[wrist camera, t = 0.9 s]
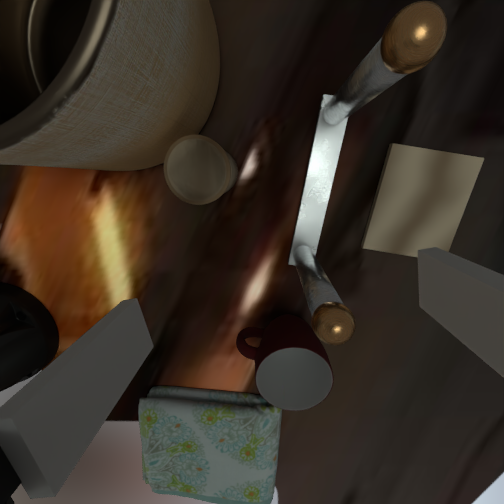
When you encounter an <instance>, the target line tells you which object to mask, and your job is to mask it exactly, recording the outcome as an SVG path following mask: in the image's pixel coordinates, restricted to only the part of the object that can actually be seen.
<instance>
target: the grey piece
mask: <svg viewBox="0 0 504 504" xmlns="http://www.w3.org/2000/svg"><path fill="white" fill-rule="evenodd" d="M446 32H447V20H446V16H445V13H444V11H443V10H442V8H441V7H440V6H439V5H437V4H435V3H433V2H430V1H419V2H415V3H412V4H410V5H408V6H406V7H405V8H403V9H402V10H400V11H399V12H398V13H397V14H396V15H395V16H394V17H393V18H392V19H391V21H390V22H389V24H388V25H387V27H386V29H385V31H384V34H383V36H382V38H381V39H380V40H379V42H378V43H377V44H376V45H375V46H374V48H373V49H372V50H371V51H370V52H369V54H368V55H367V56H366V57H365V58H364V60H363V61H362V62H361V63H360V64H359V66H358V67H357V68H356V69H355V70H354V72H353V73H352V74H351V75H350V76H349V78H348V79H347V80H346V81H345V82H344V84H343V85H342V86H341V87H340V89H339V90H338V91H337V92H336V93H335V95H334V96H332V95H325V94H324V95H323V96H322V98H321V103H320V108H319V113H318V117H317V122H316V127H315V132H314V137H313V142H312V146H311V151H310V156H309V161H308V166H307V171H306V176H305V180H304V185H303V190H302V195H301V200H300V205H299V209H298V214H297V219H296V224H295V229H294V234H293V238H292V243H291V248H290V253H289V258H288V264H290V265H296V267H297V271H298V274H299V277H300V280H301V283H302V287H303V290H304V293H305V296H306V299H307V302H308V306H309V309H310V312H311V315H312V328H313V331H314V333H315V334H316V336H317V337H318V338H319V339H320V340H321V341H323V342H325V343H327V344H330V345H341V344H344V343H346V342H347V341H349V340H350V339H351V337H352V336H353V334H354V332H355V328H356V322H355V318H354V315H353V313H352V312H351V311H350V309H349V308H348V307H346V306H345V305H344V304H343V303H342V301H341V299H340V298H339V296H338V294H337V292H336V291H335V289H334V287H333V286H332V284H331V282H330V281H329V279H328V277H327V275H326V274H325V272H324V270H323V269H322V267H321V265H320V264H319V262H318V260H317V259H316V257H315V255H316V250H317V246H318V242H319V238H320V233H321V229H322V225H323V221H324V217H325V212H326V208H327V204H328V200H329V195H330V191H331V187H332V183H333V178H334V174H335V170H336V166H337V162H338V157H339V153H340V149H341V145H342V140H343V136H344V132H345V128H346V124H347V119H348V117H349V116H350V115H351V114H353V113H354V112H355V111H357V110H358V109H360V108H361V107H362V106H364V105H365V104H367V103H368V102H369V101H371V100H372V99H373V98H375V97H376V96H378V95H379V94H380V93H382V92H383V91H384V90H386V89H387V88H389V87H390V86H391V85H393V84H394V83H396V82H397V81H398V80H400V79H401V78H402V77H404V76H405V75H407V74H409V73H413V72H416V71H418V70H420V69H421V68H423V67H425V66H426V65H427V64H428V63H429V62H431V60H432V59H433V58H434V57H435V56H436V55H437V53H438V52H439V50H440V49H441V47H442V45H443V43H444V40H445V37H446Z"/></svg>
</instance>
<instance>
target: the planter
mask: <svg viewBox="0 0 504 504" xmlns="http://www.w3.org/2000/svg"><path fill="white" fill-rule="evenodd" d="M219 76H220V48H219V39H218V33H217V28H216V23H215V19H214V15H213V12H212V8H211V5H210V2H209V0H0V164H9V165H29V166H47V167H64V168H79V169H95V170H112V171H133V170H141V169H146V168H150V167H153V166H157V165H159V164H162V163H164V160H165V156H166V154H167V151H168V150H169V148H170V147H171V145H172V144H173V143H174V142H176V141H177V140H178V139H180V138H182V137H184V136H187V135H198V134H199V132H200V131H201V130H202V128H203V126H204V125H205V123H206V121H207V119H208V117H209V115H210V113H211V110H212V107H213V105H214V101H215V98H216V94H217V90H218V84H219Z"/></svg>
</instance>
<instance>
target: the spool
mask: <svg viewBox="0 0 504 504" xmlns="http://www.w3.org/2000/svg"><path fill="white" fill-rule="evenodd" d="M164 176H165V179H166V182H167V184H168V186H169V188H170V189H171V191H172V192H173V193H174V194H175V195H176V196H177V197H178V198H179V199H181V200H183V201H185V202H187V203H190V204H194V205H203V204H207V203H210V202H213V201H215V200H216V199H218V198H219V197H220V196H222V194H223V193H226V192H227V191H229V190H230V189H231V188H232V187H233V186H234V184H235V183H236V180H237V176H238V169H237V165H236V162H235V160H234V159H233V157H232V156H231V155H230V154H229V153H227V152H226V151H224V149H223V148H222V147H221V146H220V145H219V144H218V143H217V142H215V141H214V140H212V139H210V138H208V137H206V136H202V135H187V136H184V137H182V138H180V139H178V140H177V141H176V142H174V143H173V144H172V145H171V147H170V148H169V150H168V151H167V154H166V156H165V160H164Z"/></svg>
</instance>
